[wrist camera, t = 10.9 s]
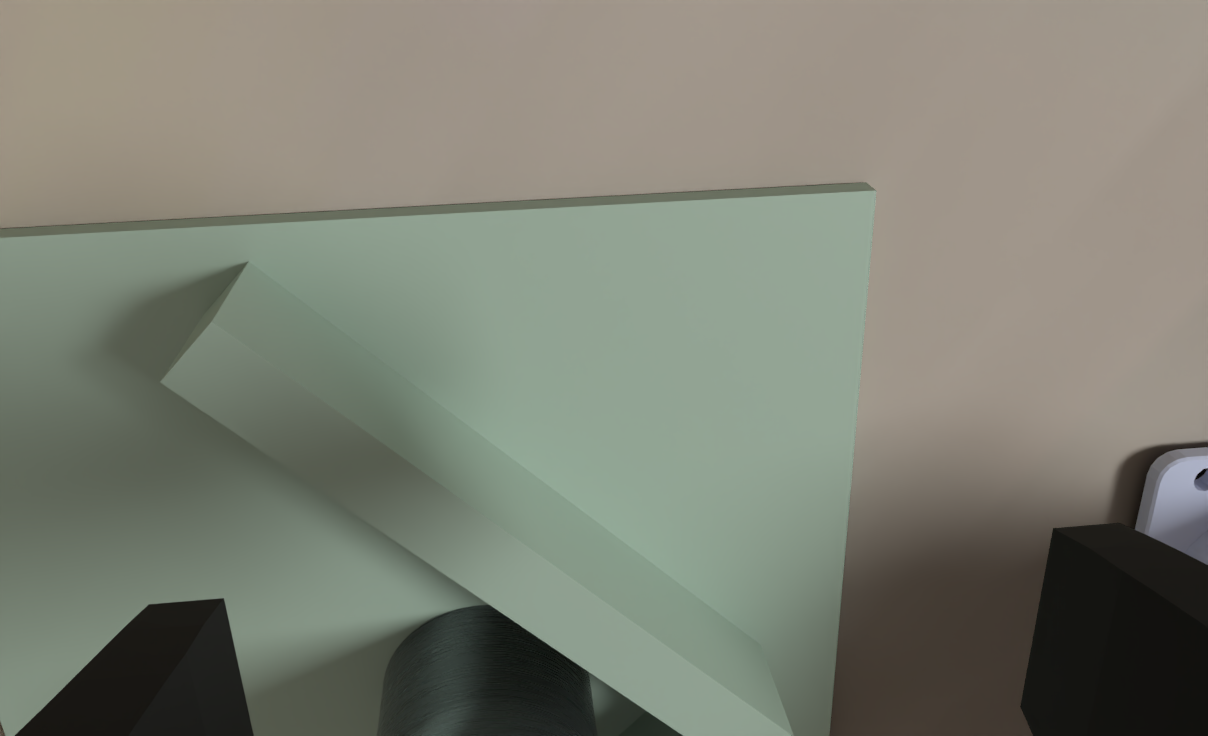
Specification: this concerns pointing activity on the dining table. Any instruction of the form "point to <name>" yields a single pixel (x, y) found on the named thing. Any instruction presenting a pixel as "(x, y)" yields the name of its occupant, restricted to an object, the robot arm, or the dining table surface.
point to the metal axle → (483, 682)
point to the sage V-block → (444, 445)
